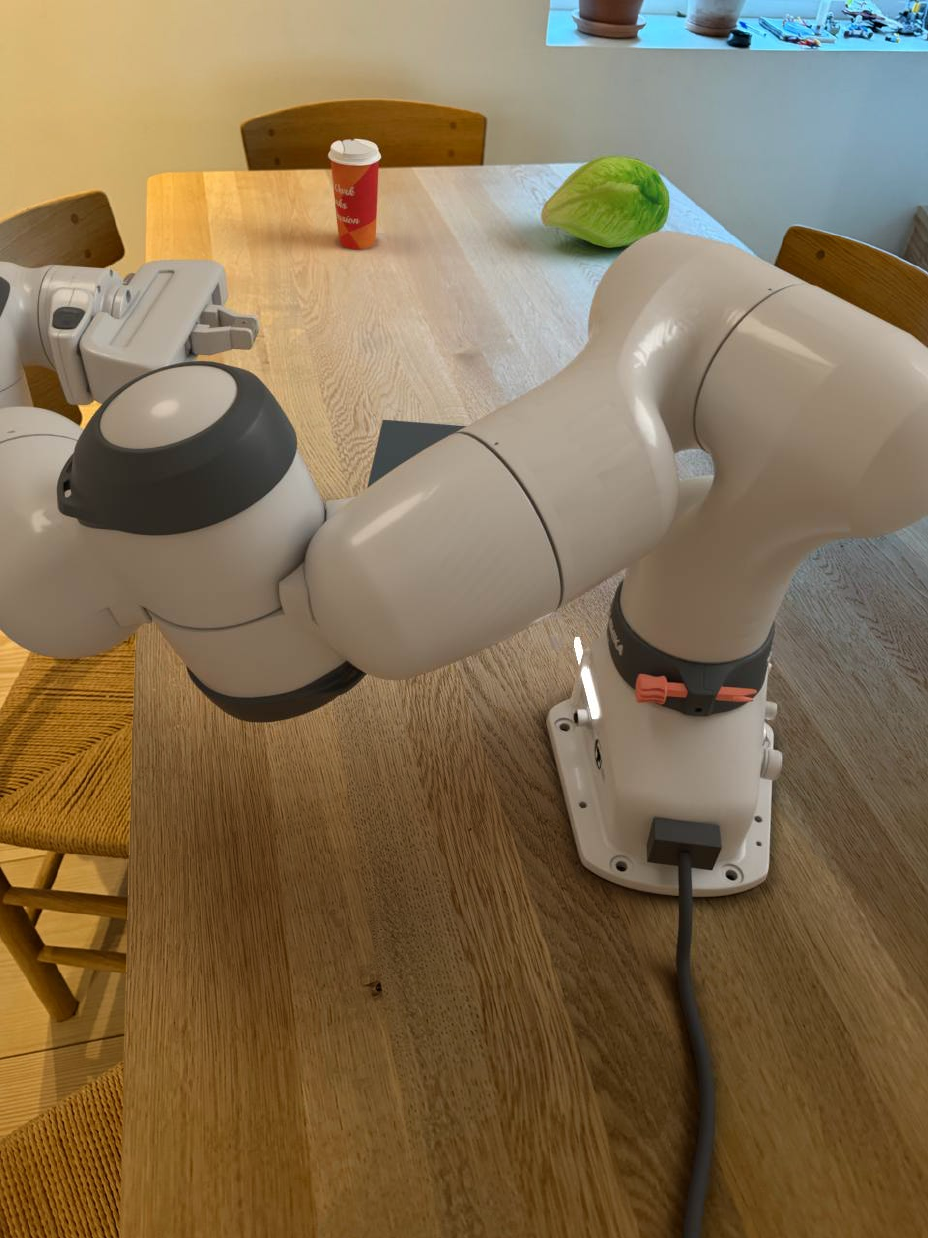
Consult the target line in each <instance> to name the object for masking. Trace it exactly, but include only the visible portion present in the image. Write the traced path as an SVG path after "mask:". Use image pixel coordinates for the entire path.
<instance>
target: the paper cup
mask: <svg viewBox="0 0 928 1238" xmlns="http://www.w3.org/2000/svg"><path fill="white" fill-rule="evenodd" d="M329 149H330V151H328V154H327V157H328V159H329V160H330V166H331V176H332V177H331V178H332V186H333V187H332V188H333V196H334V197H333V198H334V206H335V216H336V224H337V235H338V241H339V244H340V245H341V246H342V247H344V248H347V249H350V250H367V249H370V248H372V247H373V246H375V245H376V236H377V235H376V234H377V219H378V218H377V217H378V216H377V215H378V195H379V194H378V191H379V190H378V189H379V168H380V167H379V166H380V165H379V163H380V160H381V159H382V155H381V153H380V151H379V147H378V145H377V143H375V142H373V141H370V140H368V139H361V138H353V140H352V139H351V138H349V139H343V140H342V141H341V140H336V141H334V142H332V144H331V145H330V148H329Z"/></svg>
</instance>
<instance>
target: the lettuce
mask: <svg viewBox="0 0 928 1238" xmlns="http://www.w3.org/2000/svg"><path fill="white" fill-rule="evenodd" d="M669 212H670V193H669V190H668V188H667V186H666V184H665V182H664V180H663V179H662V177H661V175H660V173H659V172H658V170H657V169H655V168H654V167H653V166H651V165H649V164H647V163H645V162H644V161H642V160H641V159H639V158H634V157H630V156H624V155H623V156H622V155H608V156H607V155H606V156H600V157H599V156H598V157H596V158H594V159H592V160H591V161H588V162H587V163H584V164H582V165H581V166H579V167H578V168H577V169H576V170H575V171H573V172H572V173H571V174H570V175H569V176H567V178H566V179H565V180H564V182H563V183H561V185H560V186H559V187H558V189H557V190H556V191H555V192H554V193H553V194H552V195H551V196H550V197H549V198H548V199H547V201H546V202H545V203H544V205H543V207H542V209H541V213H540V215H541V216H540V217H541V221H542V224H543V225H544V226H545V227H555V228H558V229H560V230H563V231H565V232H566V233H567V234H569V235H571V236H574V237H575V238H578V239H580V240H584V241H586V242H588V243H590V244H593V245H596V246H599V247H602V248H606V249H609V248H610V249H611V248H621V247H627V246H630V245H632V244H633V243H634V242H636V241H637V240H639V239H641V238H643V237H644V236H647V235H649V234H652V233H655V232H659V231H661V229H663V228H664V226H665V225H666V223H667V220H668V218H669Z"/></svg>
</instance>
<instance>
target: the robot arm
mask: <svg viewBox="0 0 928 1238" xmlns="http://www.w3.org/2000/svg"><path fill="white" fill-rule="evenodd" d="M228 299H229V287H228V280H227V273H226V268H225V266H224V265H223V264H221V263H219V262H217V261H216V260H215V261H214V260H210V259H158V260H152V261H149V262H146V263H144V264H143V265H141V266H140V267H139V268H138V269H137V271H136V272H135V273H134V272H130V273H128V274H126V275H125V277H124V278H122V276H121V275H120V274H119V272H118V271H116V270H115V269H112V268H104V267H92V266H91V267H90V266H76V265H62V264H48V265H44V266H40V267H26V266H21V265H19V264H16V263H13V262H11V261H10V262H9V261H2V260H1V261H0V631H1V632H2V633H3V634H4V635H5V637H7V639H9V640H10V641H12V642H13V643H15V644H16V645H18V646H19V647H21V648H22V649H24V650H27V651H28V652H31V653H33V654H36V655H39V656H43V657H46V658H51V659H59V660H60V659H63V660H70V659H71V660H72V659H75V660H76V659H83V658H90V657H94V656H97V655H100V654H103V653H105V652H107V651H110V650H112V649H114V648H116V647H118V646H120V645H121V644H122V643H124V642H125V641H127V640H128V639H130V638H131V637H132V636H133V635H134V634H135V633H136V632H137V631H138V630H139V629H140V628H141V627H142V625H143V624H147V625H148V624H149V625H150V624H152V623H153V622H154V624H155V626H156V627H157V629H158V630H159V632H160V633H161V634H162V636H163V637H164V640H166V642H167V643H168V644H169V646H170V647H171V648H172V650H173V651H174V653H175V654H176V655H177V656H178V657H179V659H180V661H182V663H183V664H184V665H185V669H186V671H187V674H188V676H189V678H190V680H191V681H192V683H193V684H194V685H195V686H196V687H197V688H198V689H199V691H200V692H201V693H202V694H203V695H204V697H206V698H207V699H209V700H208V701H210V702H211V703H212V704H214V705H215V706H216V707H218V708H219V709H220V710H221V711H222V712H224V713H225V714H227V715H229V716H230V717H232V718H234V719H236V720H239V721H242V722H247V723H259V724H260V723H261V724H264V723H265V724H266V723H275V722H280V721H286V720H290V719H294V718H297V717H300V716H303V715H306V714H308V713H311V712H313V711H316V710H318V709H320V708H322V707H324V706H326V705H328V704H329V703H331V702H332V701H334V700H335V699H336V698H338V697H339V696H342V695H344V694H346V693H348V692H349V691H350V690H352V689H353V688H354V687H355V686H357V685H358V684H359V683H360V682H361V681H362V680H363V679H364V678H365V677H366V676H367V675H368V676H371V677H374V678H377V679H379V680H380V679H381V680H386V681H405V680H406V681H407V680H409V679H414V678H417V677H419V676H422V675H425V674H428V673H431V672H433V671H436V670H437V671H438V670H439V669H442V668H444V667H447V666H449V665H452V664H455V663H457V662H460V661H461V660H464V659H466V658H469V657H472V656H474V655H476V654H478V653H480V652H483V651H484V650H488V649H489V648H491V647H493V646H495V645H497V644H500V643H502V642H503V641H506V640H507V639H509V638H511V637H513V636H515V635H517V634H519V633H520V632H523V631H525V630H527V629H528V628H531V627H532V626H534V625H536V624H537V623H539V622H541V621H542V620H544V619H545V618H547V617H549V616H550V615H552V614H554V613H555V612H557V611H559V610H560V609H562V608H564V607H566V606H567V605H569V604H570V603H572V602H573V601H575V600H577V599H578V598H580V597H581V596H583V595H585V594H587V593H588V592H590V591H591V590H593V589H594V588H596V587H598V586H600V585H601V584H603V583H604V582H606V581H607V580H609V579H611V578H613V577H614V576H615V575H617V574H619V573H621V572H622V571H624V570H625V572H624V575H623V576H624V577H623V578H622V580H620V583H619V584H618V586H617V588H616V590H615V593H614V595H613V597H612V601H611V602H610V605H609V611H608V616H607V617H608V618H607V625H606V631H604V632H603V633H602V634H600V635H599V636H598V638H596V639H595V640H594V641H593V642H591V643H590V644H588V646H587V647H585V648H584V649H583V647H582V644H581V643H582V642H581V639H580V637H579V636H577V637H575V638H574V644H573V646H574V650H575V653H576V658H577V661H578V668H577V672H576V676H575V680H574V683H573V688H572V692H571V695H570V698H567V699H565V700H563V701H561V702H559V703H557V704H555V705H554V706H552V707H551V708H550V709H549V711H548V713H547V717H546V718H545V719H546V720H545V725H546V728H547V731H548V737H549V740H550V744H551V749H552V752H553V757H554V760H555V761H554V762H555V765H556V769H557V773H558V777H559V781H560V785H561V789H562V793H563V797H564V801H565V805H566V809H567V810H566V811H567V813H568V817H569V822H570V826H571V830H572V833H573V838H574V842H575V844H576V850H577V854H578V857H579V860H580V863H581V865H583V867H584V868H586V869H587V870H589V871H590V872H591V873H593V874H595V875H596V876H598V877H600V878H602V879H603V880H606V881H608V882H611V883H613V884H616V885H619V886H621V887H624V888H627V889H632V890H636V891H638V892H639V891H640V892H645V893H651V894H657V895H663V896H674V897H678V926H677V927H678V929H677V938H676V939H677V940H676V952H675V955H676V956H675V960H676V961H675V967H676V979H677V987H678V994H679V999H680V1005H681V1009H682V1012H683V1017H684V1021H685V1025H686V1029H687V1032H688V1036H689V1040H690V1044H691V1048H692V1052H693V1056H694V1061H695V1065H696V1072H697V1079H698V1080H697V1081H698V1093H699V1114H698V1115H699V1117H698V1119H699V1120H698V1130H697V1132H698V1133H697V1140H696V1146H695V1147H696V1148H695V1153H694V1160H693V1164H692V1165H693V1166H692V1170H691V1176H690V1180H689V1181H690V1182H689V1188H688V1192H687V1198H686V1206H685V1213H684V1220H683V1229H682V1238H701V1232H702V1221H703V1214H704V1207H705V1200H706V1195H707V1194H706V1193H707V1188H708V1183H709V1178H710V1177H709V1176H710V1172H711V1171H710V1170H711V1165H712V1157H713V1151H714V1143H715V1142H714V1141H715V1133H716V1092H715V1091H716V1089H715V1081H714V1080H715V1079H714V1073H713V1067H712V1062H711V1058H710V1054H709V1053H710V1052H709V1049H708V1046H707V1045H708V1044H707V1042H706V1037H705V1035H704V1030H703V1028H702V1024H701V1020H700V1016H699V1013H698V1009H697V1005H696V1000H695V995H694V989H693V981H692V972H691V949H692V947H691V945H692V939H693V937H692V936H693V908H694V907H693V906H694V905H693V898H710V897H711V898H712V897H713V898H715V897H722V896H723V897H724V896H730V895H735V894H739V893H743V892H745V891H749V890H751V889H753V888H756V887H758V886H759V885H761V884H762V883H764V882H765V881H766V879H767V877H768V873H769V869H770V855H771V854H770V851H771V849H770V848H771V825H772V824H771V823H772V795H773V782H775V781H778V780H779V778H780V775H781V772H782V766H783V753H782V752H781V751H780V750H777V749H774V745H775V743H774V741H775V740H774V739H775V735H774V730H773V729H772V726H770V725H769V724H768V723H767V722H766V721H765V720H768V721H770V720H771V721H775V719H776V717H777V713H778V704H777V703H776V702H773V701H769V700H767V694H768V693H767V692H768V679H769V678H768V676H769V674H770V672H771V669H772V667H773V666H772V665H773V664H772V663H771V658H772V654H773V650H774V649H773V648H774V637H775V631H776V621H775V619H776V616H777V614H778V611H779V609H780V607H781V605H782V602H783V600H784V598H785V595H786V593H787V592H788V589H789V587H790V584H791V583H792V580H794V579H793V578H794V577H795V575H796V573H797V571H798V569H799V567H800V566H801V564H802V563H803V562H804V561H805V559H806V558H807V557H808V556H809V555H810V554H811V553H813V552H814V551H816V550H817V549H819V548H820V547H822V546H824V545H827V544H829V543H832V542H836V541H839V540H846V539H871V538H872V539H873V538H876V537H877V538H878V537H882V536H885V535H889V534H892V533H896V532H899V531H901V530H903V529H905V528H909V526H912V525H914V524H916V523H918V522H920V521H921V520H923V519H924V518H926V517H928V347H927V346H926V345H925V344H924V343H922V342H921V341H920V340H919V339H918V338H917V337H915V336H914V335H912V334H911V333H910V332H907V331H905V330H903V329H901V328H900V327H897V326H895V325H894V324H891V323H889V322H887V321H886V320H884V319H881V318H880V317H878V316H877V315H874V314H872V313H870V312H868V311H866V310H864V309H862V308H860V307H859V306H856V305H854V304H853V303H851V302H849V301H846V300H845V299H843V298H841V297H839V296H837V295H835V294H833V293H831V292H829V291H827V290H825V289H823V288H822V287H819V286H817V285H815V284H814V285H813V284H811V283H809V282H808V281H807V282H806V281H805V280H803V279H801V278H799V277H797V276H795V275H793V274H791V273H789V272H787V271H786V270H784V269H781V268H780V267H778V266H776V265H774V264H771V263H770V262H768V261H766V260H765V259H762V258H760V257H758V256H756V255H755V254H752V253H750V252H748V251H747V250H745V249H742V248H741V247H739V246H737V245H735V244H733V243H729V242H725V241H720V240H718V239H717V240H716V239H713V238H708V237H705V236H700V235H695V234H690V233H684V232H679V231H673V230H659V231H658V232H655V233H652V234H649V235H647V236H644V237H643V238H641V239H639V240H637V241H636V242H634V243H633V244H632V245H628V247H626V248H625V249H624V250H623V251H622V252H621V253H620V254H619V255H618V256H617V257H616V258H615V259H614V260H613V261H612V263H611V264H610V265H609V266H608V268H607V269H606V271H605V273H604V274H603V276H602V277H601V279H600V281H599V283H598V285H597V287H596V289H595V291H594V295H593V297H592V300H591V304H590V308H589V314H588V322H587V335H588V340H587V342H586V343H585V345H584V346H583V348H582V349H581V350H580V352H579V353H578V354H577V355H576V356H575V357H574V358H573V359H572V360H571V361H570V362H569V363H568V364H567V365H565V367H564V368H562V369H561V370H560V371H559V372H558V373H556V374H555V375H553V376H552V377H550V378H549V379H547V380H546V381H544V382H542V383H541V384H539V385H537V386H535V387H534V388H532V389H531V390H528V391H527V392H525V393H524V394H522V395H520V396H519V397H517V398H515V399H513V400H511V401H509V402H508V403H506V404H504V405H502V406H500V407H499V408H497V409H495V410H494V411H492V412H490V413H488V414H486V415H485V416H482V417H481V418H479V419H477V420H475V421H473V422H472V423H470V424H468V425H465V426H466V427H464V428H463V429H461V430H459V431H457V432H455V433H453V434H451V435H449V436H448V437H446V438H444V439H442V440H440V441H439V442H437V443H435V444H433V445H432V446H430V447H428V448H426V449H425V450H423V451H421V452H420V453H418V454H417V455H415V456H413V457H412V458H410V459H409V460H407V461H405V462H404V463H402V464H401V465H399V466H398V467H396V468H395V469H393V470H392V471H390V472H389V473H388V474H386V475H385V476H383V477H382V478H380V479H379V480H378V481H376V482H375V483H373V484H372V485H371V486H369V487H368V488H367V487H366V488H365V489H364V490H363V491H361V492H360V493H359V494H358V495H355V496H349V497H344V498H337V499H327V500H325V501H323V498H322V496H321V493H320V491H319V489H318V487H317V484H316V482H315V480H314V478H313V476H312V474H311V471H310V469H309V468H308V465H307V464H306V462H305V459H304V458H303V456H302V454H301V452H300V451H299V448H298V436H297V433H296V429H295V428H294V426H293V424H292V423H291V421H290V419H289V417H288V415H287V414H286V412H285V411H284V409H283V408H282V406H281V405H280V403H279V401H278V400H277V399H276V397H275V396H274V394H273V393H272V392H271V390H270V389H269V388H268V387H267V385H265V383H264V382H263V381H262V380H261V379H260V378H259V377H258V376H257V375H256V374H254V373H253V372H251V371H249V370H247V369H244V368H242V367H238V366H233V365H230V364H225V363H222V362H217V361H211V360H210V361H209V360H197V358H198V357H199V356H213V355H216V354H221V353H224V352H229V351H232V350H241V351H250V350H252V348H253V346H254V344H255V342H256V339H257V337H258V335H259V333H260V323H259V322H260V321H259V318H258V316H257V315H254V314H243V313H238V312H235V311H234V310H231V309H229V308H227V307H225V305H226V303H227V301H228ZM32 366H37V367H42V368H45V369H48V370H51V371H54V372H56V373H57V377H58V380H59V382H60V386H61V389H62V391H63V395H64V397H65V400H66V402H67V404H69V405H72V406H89V405H91V404H93V403H94V402H96V403H99V404H101V405H100V406H99V407H98V408H97V409H96V410H95V411H94V413H93V415H92V416H91V417H90V419H89V420H88V422H87V424H86V425H85V427H84V428H83V427H82V426H80V425H79V424H77V423H76V422H74V420H71V419H70V418H68V417H66V416H64V415H61V413H57V412H55V411H53V410H50V409H45V408H41V407H34V403H33V399H32V395H31V391H30V387H29V383H28V380H27V376H26V372H25V367H32ZM688 450H700V451H703V452H705V453H707V454H709V456H710V458H711V461H712V464H713V474H707V475H699V476H692V477H691V476H690V477H686V478H683V479H679V471H678V465H677V464H678V463H677V460H676V454H678V453H680V452H683V451H688ZM565 730H566V731H565ZM618 867H621V868H623V869H624V871H621V870H619V869H618ZM727 876H729V877H730V876H731V877H732V878H733V880H731V879H729V878H728V877H727Z"/></svg>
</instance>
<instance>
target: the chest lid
mask: <svg viewBox="0 0 928 1238" xmlns="http://www.w3.org/2000/svg"><path fill="white" fill-rule="evenodd" d="M380 425H381V426H380V429H379V435H378V440H377V443H376V448H375V452H374V457H373V460H372V465H371V470H370V473H369V478H368V482H367V486H366V489H367V488H368V487H369V486H371V485H372V484H373V483H375V482H376V481H378V480H379V479H380V478H382V477H383V476H385V475H386V474H388V473H389V472H390V471H392V470H393V469H395V468H396V467H398V466H399V465H401V464H402V463H404V462H405V461H407V460H409V459H410V458H412V457H413V456H415V455H417V454H418V453H420V452H421V451H423V450H425V449H426V448H428V447H430V446H432V445H433V444H435V443H437V442H439V441H440V440H442V439H444V438H446V437H448V436H449V435H451V434H453V433H455V432H457V431H459V430H461V429H463V428H464V427H466V426H467V425H457V424H445V423H444V424H443V423H432V422H431V423H430V422H419V421H406V420H405V421H404V420H395V419H394V420H393V419H382V422H381V424H380Z"/></svg>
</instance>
